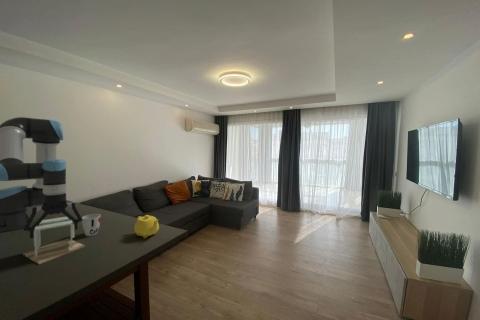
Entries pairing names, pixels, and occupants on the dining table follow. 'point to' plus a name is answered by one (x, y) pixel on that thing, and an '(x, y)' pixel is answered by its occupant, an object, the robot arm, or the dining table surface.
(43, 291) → the dining table surface
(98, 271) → the dining table surface
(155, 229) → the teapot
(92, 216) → the cup
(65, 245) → the mat
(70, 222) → the cover
